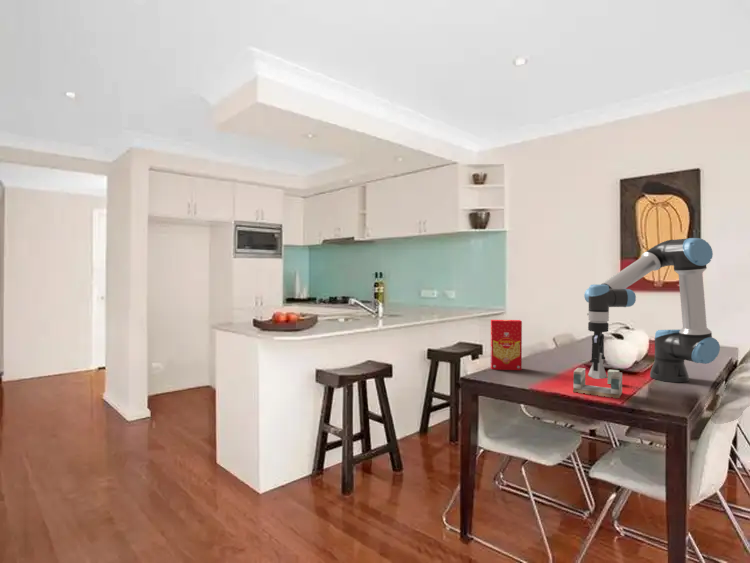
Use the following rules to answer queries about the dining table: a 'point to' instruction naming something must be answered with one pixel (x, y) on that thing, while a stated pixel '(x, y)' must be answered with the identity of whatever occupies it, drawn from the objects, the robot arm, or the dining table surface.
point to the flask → (602, 370)
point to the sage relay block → (610, 375)
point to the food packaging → (506, 344)
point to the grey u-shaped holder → (595, 390)
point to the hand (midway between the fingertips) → (597, 376)
